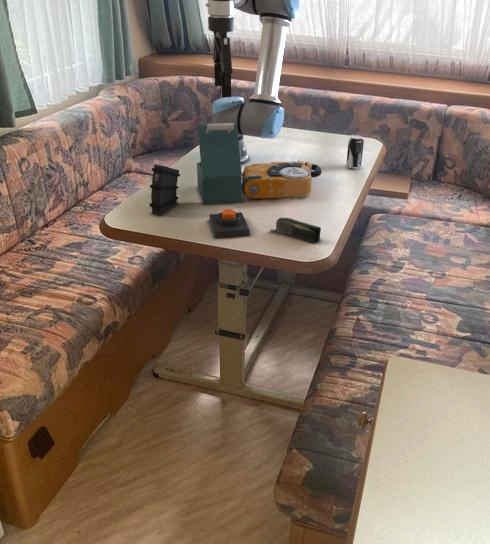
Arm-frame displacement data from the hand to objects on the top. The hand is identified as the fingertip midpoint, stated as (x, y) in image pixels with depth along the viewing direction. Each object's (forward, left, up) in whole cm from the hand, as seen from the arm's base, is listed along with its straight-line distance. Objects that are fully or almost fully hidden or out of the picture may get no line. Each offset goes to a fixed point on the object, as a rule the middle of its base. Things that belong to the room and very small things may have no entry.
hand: (222, 91), depth 176 cm
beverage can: (-20, +53, -34) cm, 66 cm away
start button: (+25, -3, -31) cm, 40 cm away
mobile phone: (+34, +15, -34) cm, 51 cm away
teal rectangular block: (-1, -2, -34) cm, 34 cm away
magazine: (+7, -20, -34) cm, 40 cm away
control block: (+25, -3, -34) cm, 43 cm away
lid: (+2, -2, -18) cm, 18 cm away
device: (-3, +21, -34) cm, 40 cm away
